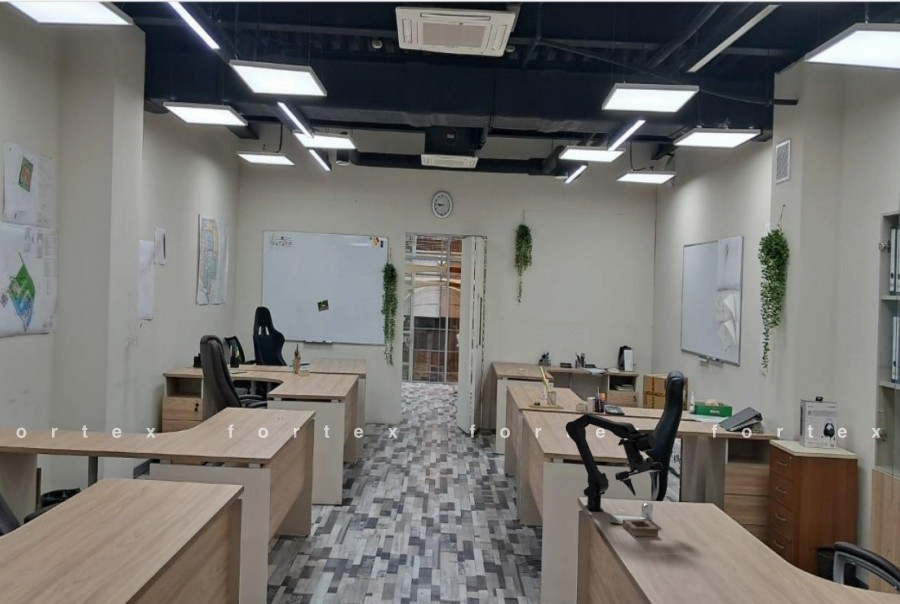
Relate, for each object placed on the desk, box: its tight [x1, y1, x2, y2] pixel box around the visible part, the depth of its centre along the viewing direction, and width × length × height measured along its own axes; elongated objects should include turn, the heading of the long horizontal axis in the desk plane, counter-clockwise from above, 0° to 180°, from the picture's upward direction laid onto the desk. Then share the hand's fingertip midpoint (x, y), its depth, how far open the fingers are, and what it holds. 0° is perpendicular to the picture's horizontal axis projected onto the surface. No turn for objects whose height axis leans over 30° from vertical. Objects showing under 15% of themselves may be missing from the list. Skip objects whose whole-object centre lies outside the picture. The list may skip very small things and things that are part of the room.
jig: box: [622, 518, 659, 538], centre depth 247 cm, size 10×10×3 cm
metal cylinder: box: [640, 501, 654, 523], centre depth 259 cm, size 4×4×7 cm
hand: (645, 492), depth 254 cm, fingers open, 9 cm apart
